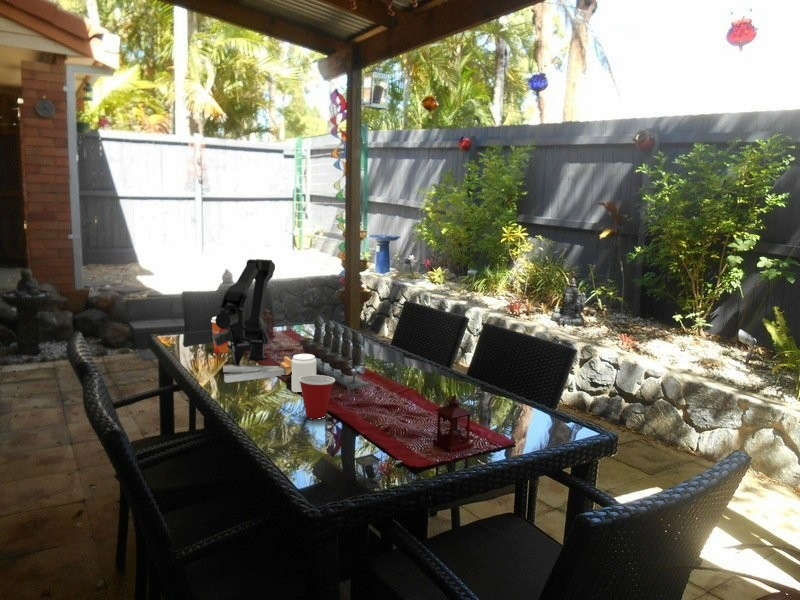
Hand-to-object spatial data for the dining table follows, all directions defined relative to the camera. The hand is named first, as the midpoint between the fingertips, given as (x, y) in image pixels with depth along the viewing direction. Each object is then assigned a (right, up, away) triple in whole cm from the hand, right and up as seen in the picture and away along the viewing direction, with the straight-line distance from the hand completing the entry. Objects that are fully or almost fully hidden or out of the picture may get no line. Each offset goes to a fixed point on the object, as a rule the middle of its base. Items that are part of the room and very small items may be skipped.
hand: (236, 365), depth 241 cm
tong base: (+9, -4, -9) cm, 13 cm away
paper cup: (-12, +3, +24) cm, 28 cm away
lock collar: (+19, -3, -4) cm, 20 cm away
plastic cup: (+35, -11, -46) cm, 59 cm away
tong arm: (+6, -2, -4) cm, 8 cm away
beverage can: (+28, -7, -23) cm, 37 cm away
